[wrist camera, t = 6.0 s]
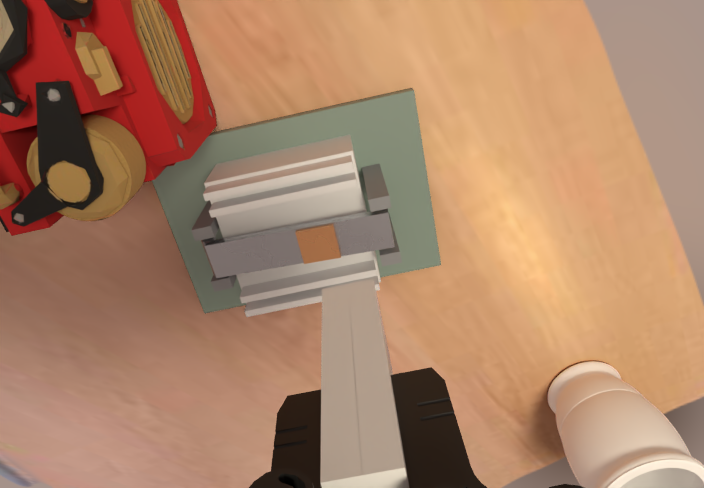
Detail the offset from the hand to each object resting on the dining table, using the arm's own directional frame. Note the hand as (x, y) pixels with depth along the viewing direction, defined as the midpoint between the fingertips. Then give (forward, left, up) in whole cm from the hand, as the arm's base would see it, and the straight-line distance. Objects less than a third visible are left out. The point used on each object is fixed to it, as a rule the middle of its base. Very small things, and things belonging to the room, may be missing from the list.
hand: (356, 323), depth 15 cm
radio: (-8, -15, -34) cm, 38 cm away
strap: (+8, -5, -27) cm, 28 cm away
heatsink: (+8, -5, -34) cm, 35 cm away
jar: (+37, +21, -34) cm, 54 cm away
